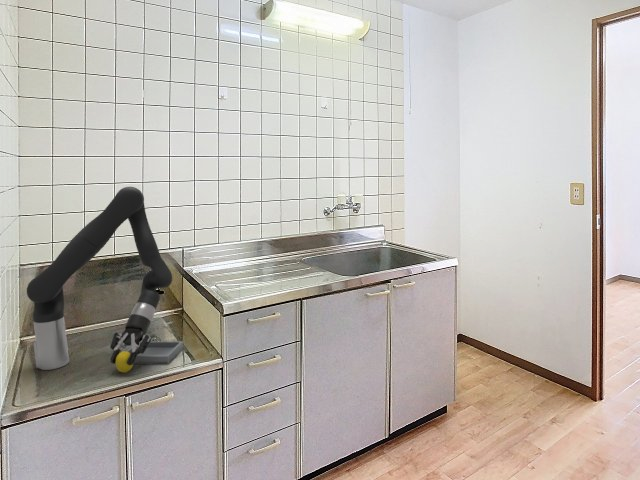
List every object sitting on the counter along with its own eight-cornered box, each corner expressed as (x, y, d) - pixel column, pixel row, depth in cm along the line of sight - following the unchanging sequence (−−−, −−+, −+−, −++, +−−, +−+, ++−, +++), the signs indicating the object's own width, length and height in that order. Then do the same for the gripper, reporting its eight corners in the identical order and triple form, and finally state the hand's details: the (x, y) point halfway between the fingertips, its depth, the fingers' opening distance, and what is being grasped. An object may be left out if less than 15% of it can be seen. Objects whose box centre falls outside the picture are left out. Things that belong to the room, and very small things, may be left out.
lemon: (127, 377, 141) (125, 354, 140) (113, 376, 142) (110, 353, 141) (137, 370, 146) (135, 348, 145) (123, 369, 148) (121, 347, 146)
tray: (119, 364, 152) (119, 356, 151) (139, 348, 166) (138, 341, 165) (168, 364, 150) (167, 356, 150) (183, 348, 164) (183, 341, 164)
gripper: (118, 312, 151) (96, 357, 141) (153, 314, 147) (133, 361, 137) (129, 321, 156) (109, 366, 147) (163, 324, 153) (145, 369, 143)
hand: (120, 363), depth 142 cm, fingers open, 5 cm apart
